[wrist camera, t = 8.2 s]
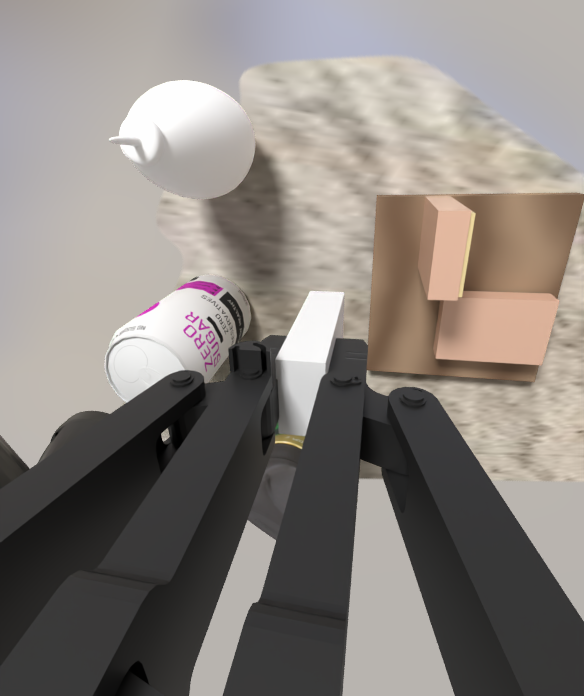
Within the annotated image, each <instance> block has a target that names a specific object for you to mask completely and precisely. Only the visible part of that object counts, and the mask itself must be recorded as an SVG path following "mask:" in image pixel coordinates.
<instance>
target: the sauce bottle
mask: <svg viewBox="0 0 584 696" xmlns="http://www.w3.org/2000/svg"><path fill="white" fill-rule="evenodd" d="M109 141H110V142H112V143H115V144H120V147H121V149H122V151H123V153H124V155H125V156H126V157H127V158H128V159H130V161H131V162H132V164H133V165H134V166H135V167H136V169H137V170H138V171H139V172H140V173H141V174H142V175H143V176H144V177H146V178H147V179H148V180H149V181H151V182H152V183H154V184H155V185H157V186H159V187H160V188H162V189H164V190H166V191H168V192H171V193H173V194H176V195H179V196H182V197H187V198H192V199H212V198H216V197H219V196H223V195H225V194H227V193H229V192H230V191H232V190H234V189H235V188H236V187H237V186H238V185H239V184H240V183H241V182H242V181H243V180H244V178H245V177H246V175H247V174H248V172H249V170H250V167H251V165H252V162H253V158H254V154H255V144H256V143H255V133H254V129H253V125H252V123H251V121H250V119H249V117H248V115H247V113H246V112H245V111H244V109H243V108H242V107H241V106H240V104H239V103H237V102H236V101H235V100H234V99H233V98H232V97H231V96H229V95H228V94H226V93H224V92H223V91H221V90H219V89H218V88H215V87H213V86H210V85H207V84H205V83H201V82H195V81H189V80H181V81H170V82H166V83H163V84H161V85H158V86H156V87H153V88H151V89H150V90H148V91H147V92H146V93H145V94H143V95H142V96H141V97H140V98H139V99H138V100H137V101H136V102H135V104H134V105H133V106H132V108H131V110H130V112H129V114H128V116H127V118H126V119H125V120H124V122H123V123H122V125H121V128H120V132H119V136H118V137H112V138H110V139H109Z"/></svg>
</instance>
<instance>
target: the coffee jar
mask: <svg viewBox="0 0 584 696" xmlns="http://www.w3.org/2000/svg"><path fill="white" fill-rule="evenodd" d="M304 439H305V436H298V435H289V434H280V433H279V426H278V422H277V425H276V428H275V445H274V448H273V450H272V453H271V456H270V459H269V461H268V464H267V467H266V470H265V472H264V475H263V478H262V481H261V483H260V486H259V489H258V492H257V495H256V497H255V500H254V503H253V506H252V508H251V511H250V514H249V517H248V519H247V520H249V521H250V522H251V523H253V524H254V525H255V526H257V527H258V528H260V529H261V530H262V531H264V532H265V533H266V534H268V535H269V536H271V537H272V538H274V539H275V540H277V537H278V533H279V529H280V526H281V522H282V518H283V515H284V511H285V508H286V504H287V500H288V497H289V493H290V489H291V486H292V482H293V478H294V475H295V471H296V468H297V464H298V460H299V457H300V453H301V449H302V446H303V442H304Z"/></svg>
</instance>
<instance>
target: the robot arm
mask: <svg viewBox="0 0 584 696" xmlns="http://www.w3.org/2000/svg"><path fill="white" fill-rule="evenodd" d="M344 294H345V292H324V291H310V293H309V295H308V297H307V299H306V301H305V302H304V304H303V306H302V308H301V310H300V312H299V314H298V316H297V318H296V320H295V322H294V324H293V326H292V328H291V330H290V332H289V334H288V336H278V335H270V336H268V337H267V338H265V339H264V340H262V341H261V342H259V341H245V342H239V343H237V344H234V345H232V346H231V347H230V348H228V352H229V362H230V371H231V372H230V374H229V375H228V377H227V378H226V380H225V381H222V382H214V383H205V382H204V376H203V375H202V374H201V373H199V372H197V371H191V370H184V371H183V370H180V371H178V372H174V373H171V374H169V375H167V376H165V377H164V378H162V379H161V380H159V381H158V382H156V383H155V384H154V385H152V386H151V387H149V388H148V389H146V390H145V391H143V392H142V393H140V394H139V395H137V396H136V397H135V398H133V399H132V400H130V401H129V402H127V403H126V404H124V405H123V406H121V407H120V408H118V409H117V410H115V411H114V412H113V413H111V414H108V413H104V412H99V411H85V412H80V413H77V414H75V415H73V416H72V417H71V418H69V419H68V420H67V421H66V422H65V423H63V424H62V425H61V426H60V427H59V428H58V429H57V430H56V432H55V433H54V435H53V437H52V439H51V442H50V444H49V445H48V447H47V448H46V450H45V451H44V453H43V455H42V456H41V458H40V460H39V462H38V463H37V465H35V466H34V467H32V468H31V469H29V467H28V466H27V465H26V464H25V463H24V462H23V461H22V459H21V458H20V457H19V456H18V455H17V454H16V453H15V451H14V450H13V449H12V448H11V447H10V446H9V445H8V443H7V442H6V441H5V440H4V439H3V438H2V436H1V435H0V696H189V691H190V681H191V677H192V672H193V669H194V666H195V663H196V660H197V657H198V655H199V652H200V649H201V646H202V643H203V640H204V638H205V635H206V632H207V630H208V627H209V624H210V621H211V619H212V616H213V613H214V610H215V608H216V605H217V602H218V599H219V597H220V594H221V591H222V588H223V585H224V583H225V580H226V577H227V575H228V571H229V569H230V566H231V563H232V561H233V558H234V555H235V552H236V550H237V547H238V544H239V541H240V538H241V536H242V533H243V530H244V528H245V525H246V522H247V519H248V517H249V514H250V511H251V508H252V506H253V503H254V500H255V497H256V495H257V492H258V489H259V486H260V483H261V481H262V478H263V475H264V472H265V470H266V467H267V464H268V461H269V459H270V456H271V453H272V450H273V448H274V445H275V428H276V425H277V422H278V426H279V433H280V434H289V435H298V436H305V439H304V442H303V446H302V449H301V453H300V457H299V460H298V464H297V468H296V471H295V475H294V478H293V482H292V486H291V489H290V493H289V497H288V500H287V504H286V508H285V511H284V515H283V518H282V522H281V526H280V529H279V533H278V537H277V540H276V544H275V548H274V551H273V555H272V558H271V562H270V566H269V569H268V573H267V577H266V580H265V584H264V587H263V591H262V594H261V597H260V599H259V601H258V602H256V603H253V604H252V606H251V607H250V609H249V611H248V614H247V617H246V620H245V622H244V625H243V629H242V632H241V636H240V639H239V642H238V645H237V649H236V652H235V656H234V659H233V662H232V666H231V669H230V672H229V676H228V679H227V683H226V686H225V689H224V693H223V696H342V692H343V679H344V678H343V677H344V665H345V653H346V638H347V626H348V612H349V599H350V587H351V572H352V561H353V547H354V535H355V522H356V509H357V495H358V482H359V472H360V459H361V460H364V461H367V462H369V463H372V464H375V465H377V466H380V467H382V476H383V479H384V482H385V485H386V488H387V491H388V494H389V497H390V501H391V503H392V506H393V510H394V512H395V516H396V519H397V521H398V525H399V528H400V530H401V534H402V537H403V540H404V543H405V546H406V549H407V552H408V555H409V558H410V561H411V564H412V567H413V570H414V573H415V576H416V579H417V582H418V585H419V588H420V591H421V594H422V597H423V600H424V603H425V607H426V609H427V613H428V615H429V618H430V622H431V625H432V628H433V631H434V634H435V637H436V640H437V643H438V645H439V649H440V652H441V655H442V658H443V660H444V664H445V667H446V670H447V673H448V676H449V679H450V682H451V685H452V688H453V691H454V694H455V696H584V621H583V620H582V618H581V617H580V615H579V614H578V612H577V611H576V609H575V608H574V606H573V605H572V603H571V602H570V600H569V599H568V597H567V596H566V594H565V593H564V591H563V589H562V588H561V586H560V585H559V583H558V582H557V580H556V579H555V577H554V576H553V574H552V573H551V571H550V570H549V569H548V567H547V565H546V564H545V562H544V561H543V559H542V558H541V556H540V554H539V553H538V552H537V550H536V548H535V547H534V546H533V544H532V543H531V541H530V539H529V538H528V536H527V535H526V533H525V532H524V530H523V529H522V527H521V526H520V524H519V523H518V521H517V520H516V518H515V516H514V515H513V514H512V512H511V511H510V509H509V507H508V506H507V504H506V503H505V501H504V500H503V498H502V497H501V495H500V494H499V492H498V491H497V489H496V488H495V486H494V485H493V483H492V481H491V480H490V478H489V477H488V475H487V474H486V472H485V471H484V469H483V468H482V466H481V465H480V463H479V462H478V460H477V459H476V457H475V456H474V454H473V453H472V451H471V449H470V448H469V446H468V445H467V443H466V442H465V440H464V439H463V437H462V436H461V434H460V433H459V431H458V430H457V428H456V427H455V425H454V424H453V422H452V421H451V419H450V418H449V416H448V414H447V413H446V411H445V410H444V408H443V407H442V405H441V404H440V402H439V401H438V399H437V398H436V397H435V396H434V395H433V394H431V393H430V392H428V391H426V390H423V389H420V388H416V387H403V388H397V389H395V390H393V391H391V393H390V394H389V396H385V395H382V394H379V393H377V392H375V391H373V390H372V389H370V388H369V387H368V385H367V384H366V372H367V356H368V345H367V344H366V343H365V342H364V340H359V339H343V322H344ZM167 428H168V430H169V435H170V437H169V438H168V439H167V440H166V441H164V442H163V441H162V437H161V433H162V432H163V431H164V430H166V429H167Z"/></svg>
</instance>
